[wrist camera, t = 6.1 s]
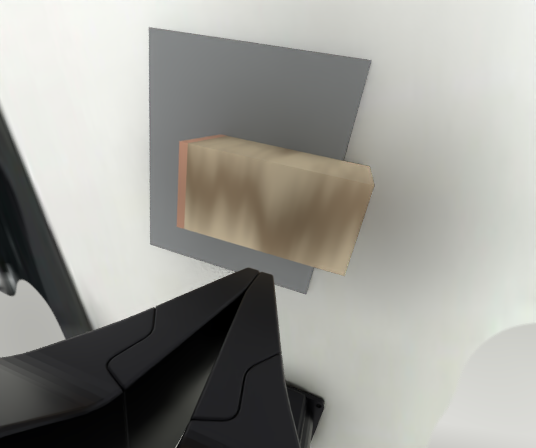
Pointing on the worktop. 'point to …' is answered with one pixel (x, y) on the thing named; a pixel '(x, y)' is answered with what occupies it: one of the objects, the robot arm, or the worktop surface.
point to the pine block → (273, 199)
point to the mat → (242, 124)
